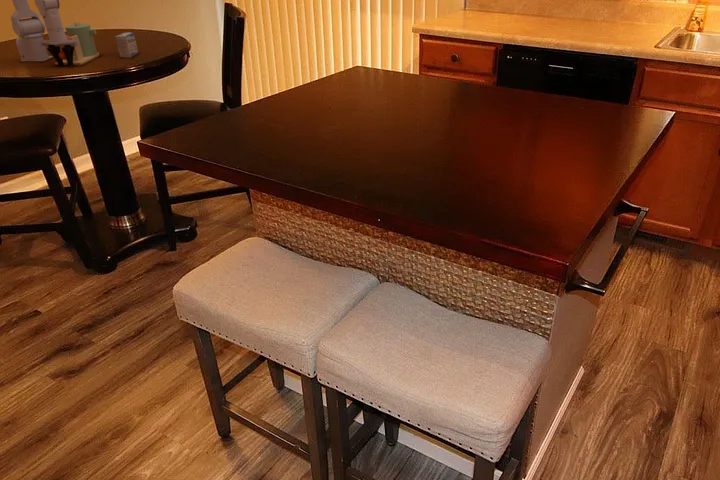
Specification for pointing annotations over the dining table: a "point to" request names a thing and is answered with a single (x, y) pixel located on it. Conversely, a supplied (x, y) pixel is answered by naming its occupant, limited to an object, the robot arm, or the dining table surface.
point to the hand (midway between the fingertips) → (66, 65)
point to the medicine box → (126, 44)
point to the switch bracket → (77, 54)
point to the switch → (61, 53)
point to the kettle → (83, 38)
